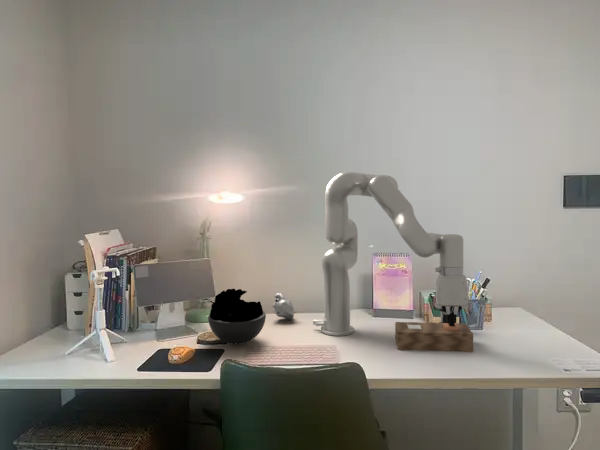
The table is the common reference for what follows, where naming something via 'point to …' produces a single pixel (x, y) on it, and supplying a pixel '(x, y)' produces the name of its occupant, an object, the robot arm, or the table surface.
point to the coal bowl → (235, 317)
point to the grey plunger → (414, 327)
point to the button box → (433, 337)
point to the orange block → (450, 327)
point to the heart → (283, 307)
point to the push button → (444, 314)
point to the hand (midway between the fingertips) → (451, 325)
